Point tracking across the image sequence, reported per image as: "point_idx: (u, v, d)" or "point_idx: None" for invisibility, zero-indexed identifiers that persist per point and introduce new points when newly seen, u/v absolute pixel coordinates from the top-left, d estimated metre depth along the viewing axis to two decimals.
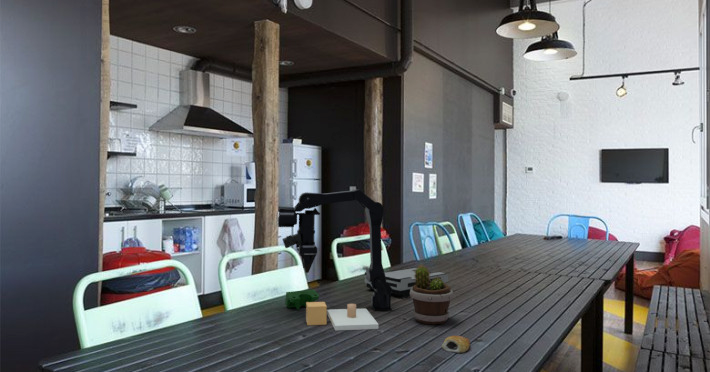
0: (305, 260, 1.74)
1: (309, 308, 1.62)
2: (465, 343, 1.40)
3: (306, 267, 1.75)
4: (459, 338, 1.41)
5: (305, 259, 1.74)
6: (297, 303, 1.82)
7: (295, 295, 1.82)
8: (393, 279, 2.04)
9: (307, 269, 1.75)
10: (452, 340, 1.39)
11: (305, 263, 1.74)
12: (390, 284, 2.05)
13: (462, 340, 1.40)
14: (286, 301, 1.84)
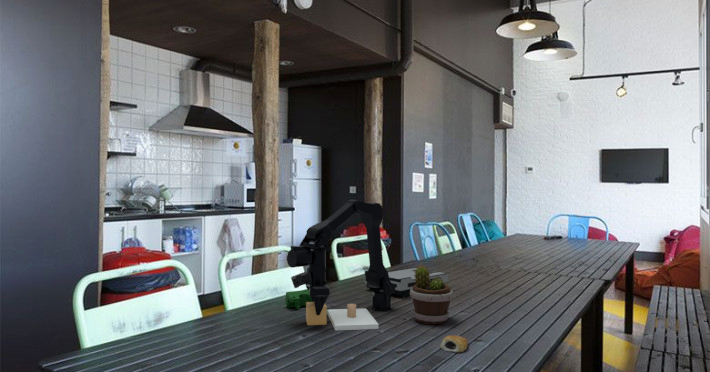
0: (316, 302, 1.60)
1: (309, 308, 1.62)
2: (463, 343, 1.40)
3: (317, 309, 1.60)
4: (457, 338, 1.41)
5: (316, 301, 1.60)
6: (297, 303, 1.82)
7: (295, 295, 1.83)
8: (393, 279, 2.03)
9: (318, 312, 1.61)
10: (450, 340, 1.39)
11: (316, 305, 1.60)
12: None
13: (460, 340, 1.40)
14: (286, 301, 1.84)
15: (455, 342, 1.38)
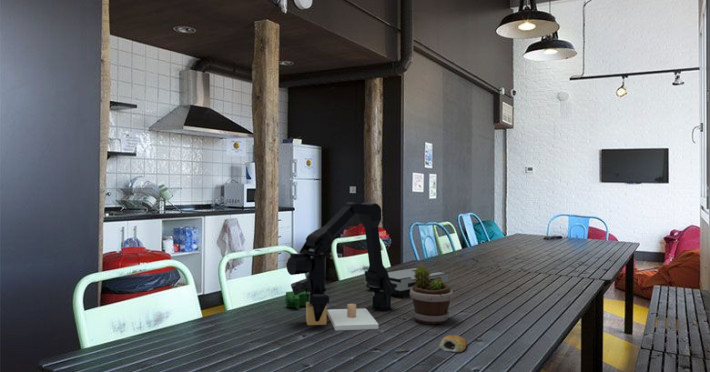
0: (315, 308, 1.61)
1: (309, 308, 1.62)
2: (462, 343, 1.40)
3: (316, 316, 1.62)
4: (456, 338, 1.41)
5: (315, 307, 1.61)
6: (297, 303, 1.82)
7: (295, 295, 1.83)
8: (393, 279, 2.03)
9: (318, 318, 1.62)
10: (449, 340, 1.39)
11: (315, 311, 1.61)
12: None
13: (459, 340, 1.40)
14: (286, 301, 1.84)
15: (454, 342, 1.38)
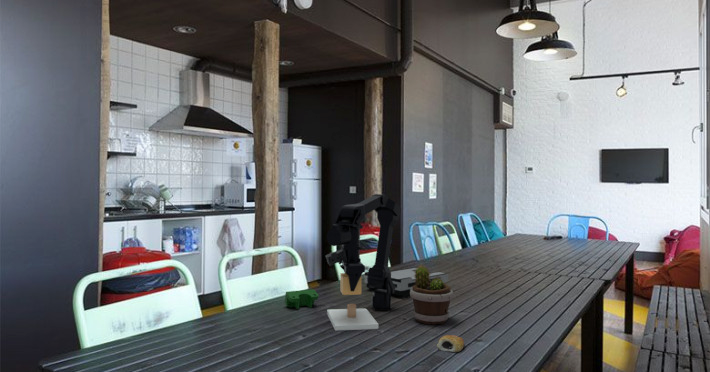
0: (351, 278, 1.63)
1: (344, 278, 1.64)
2: (460, 343, 1.40)
3: (351, 286, 1.64)
4: (454, 337, 1.41)
5: (351, 277, 1.63)
6: (297, 303, 1.82)
7: (295, 295, 1.83)
8: (393, 279, 2.03)
9: (353, 288, 1.64)
10: (447, 340, 1.39)
11: (351, 281, 1.63)
12: None
13: (457, 339, 1.41)
14: (286, 301, 1.84)
15: (452, 342, 1.39)
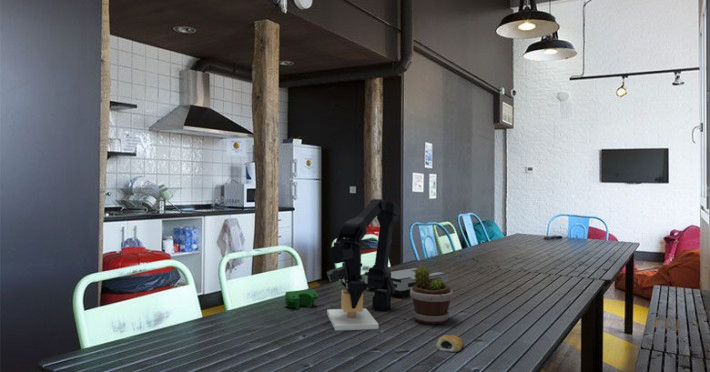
0: (352, 295, 1.63)
1: (346, 295, 1.64)
2: (459, 342, 1.40)
3: (352, 303, 1.64)
4: (453, 337, 1.41)
5: (352, 294, 1.63)
6: (296, 303, 1.82)
7: (294, 295, 1.83)
8: (393, 279, 2.03)
9: (354, 305, 1.64)
10: (446, 339, 1.39)
11: (352, 298, 1.63)
12: None
13: (456, 339, 1.41)
14: (286, 301, 1.84)
15: (451, 342, 1.39)
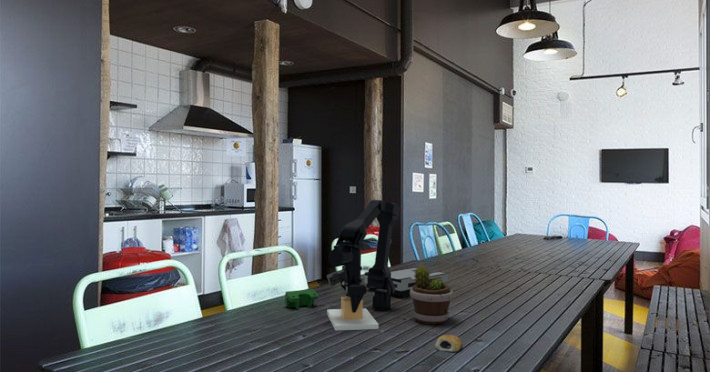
0: (352, 299, 1.62)
1: (345, 302, 1.64)
2: (458, 342, 1.40)
3: (353, 307, 1.63)
4: (452, 337, 1.41)
5: (352, 298, 1.62)
6: (296, 303, 1.82)
7: (294, 295, 1.83)
8: (393, 279, 2.03)
9: (354, 309, 1.63)
10: (445, 339, 1.39)
11: (352, 302, 1.62)
12: None
13: (455, 339, 1.41)
14: (285, 301, 1.84)
15: (450, 342, 1.39)
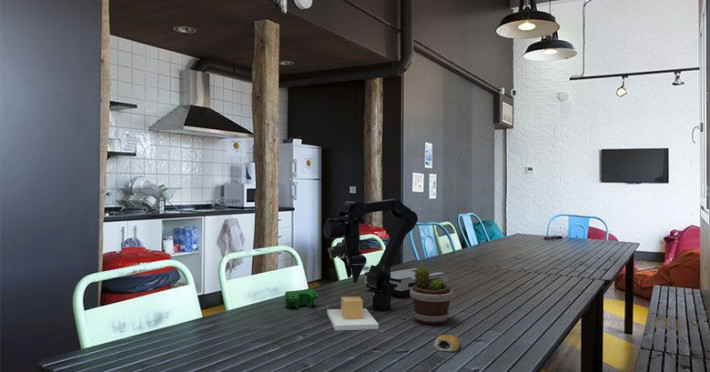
0: (353, 270, 1.72)
1: (345, 302, 1.64)
2: (457, 342, 1.41)
3: (354, 277, 1.73)
4: (450, 337, 1.41)
5: (353, 269, 1.72)
6: (296, 302, 1.82)
7: (294, 294, 1.83)
8: (393, 279, 2.03)
9: (355, 280, 1.73)
10: (444, 339, 1.39)
11: (353, 273, 1.72)
12: None
13: (453, 339, 1.41)
14: (285, 300, 1.85)
15: (449, 341, 1.39)
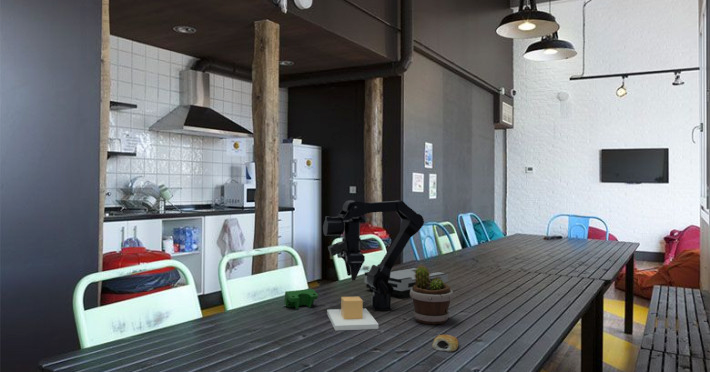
0: (352, 268, 1.75)
1: (345, 302, 1.64)
2: (455, 342, 1.41)
3: (352, 275, 1.76)
4: (449, 337, 1.42)
5: (352, 267, 1.75)
6: (296, 302, 1.83)
7: (294, 294, 1.83)
8: (394, 279, 2.03)
9: (354, 277, 1.76)
10: (443, 339, 1.40)
11: (352, 271, 1.75)
12: None
13: (452, 339, 1.41)
14: (285, 300, 1.85)
15: (448, 341, 1.39)
